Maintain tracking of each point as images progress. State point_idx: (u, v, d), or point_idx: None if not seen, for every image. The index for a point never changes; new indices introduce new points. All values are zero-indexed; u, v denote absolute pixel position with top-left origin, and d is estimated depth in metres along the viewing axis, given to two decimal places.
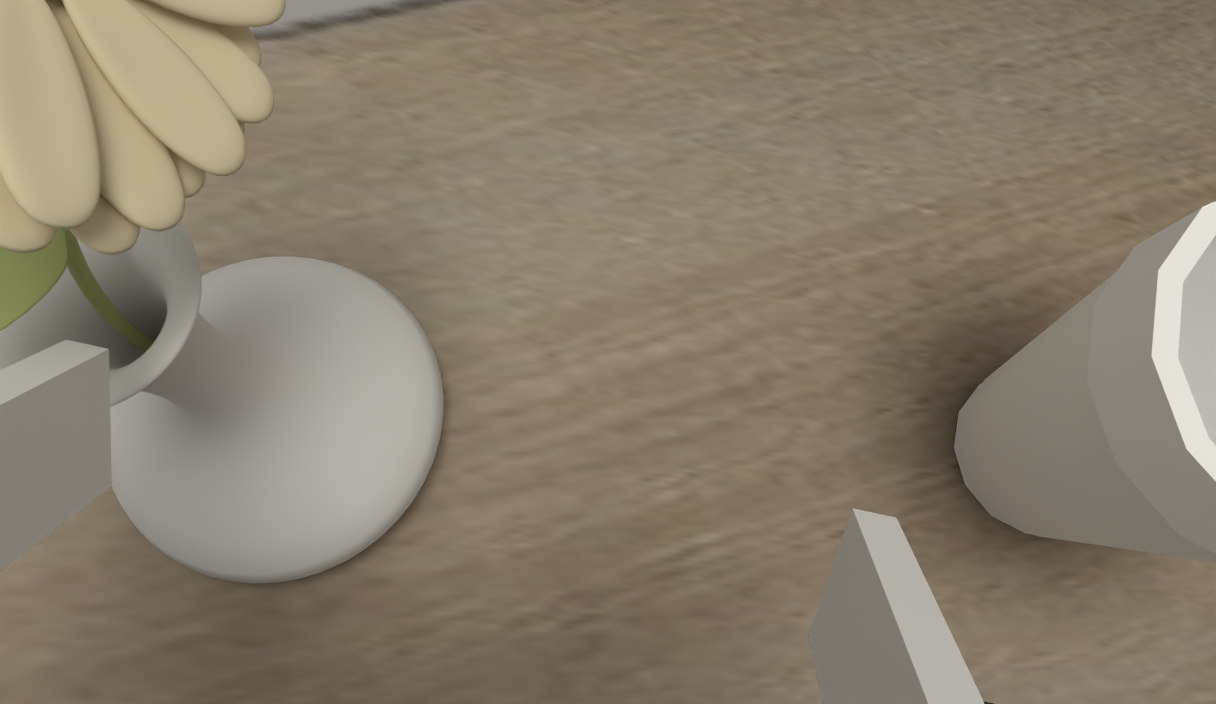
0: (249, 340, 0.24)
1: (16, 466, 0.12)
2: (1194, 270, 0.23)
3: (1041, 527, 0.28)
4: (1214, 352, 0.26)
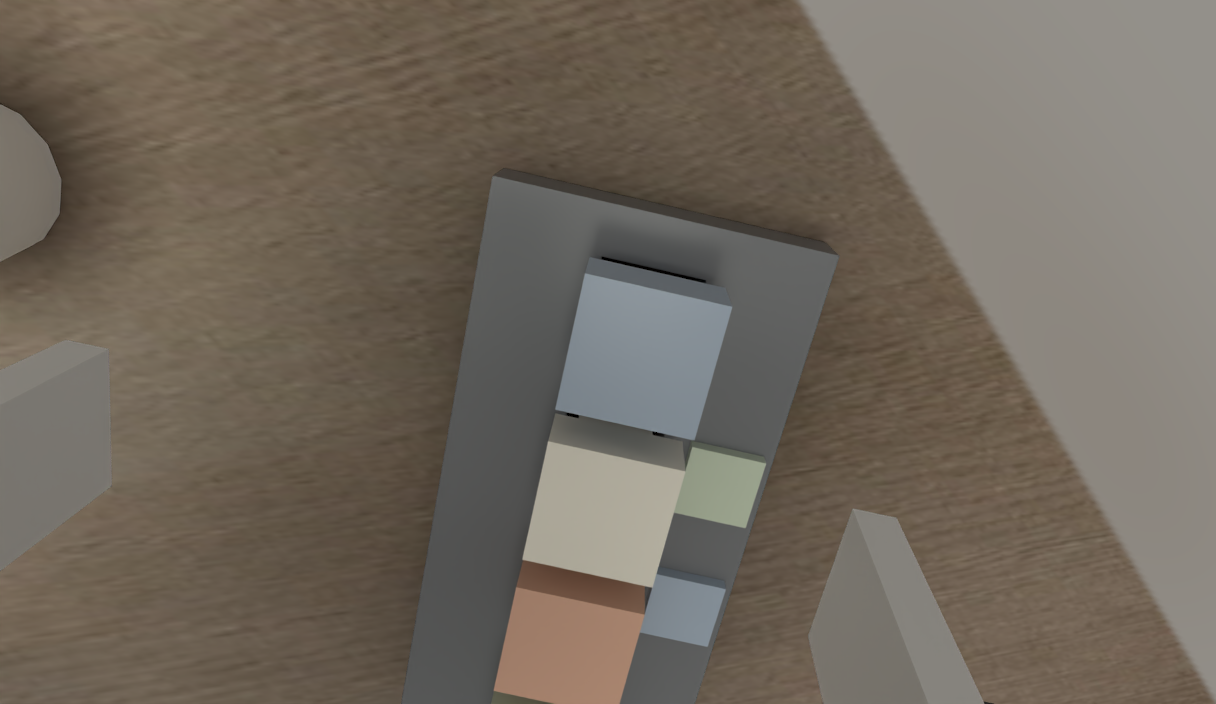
0: None
1: (16, 466, 0.12)
2: None
3: None
4: None
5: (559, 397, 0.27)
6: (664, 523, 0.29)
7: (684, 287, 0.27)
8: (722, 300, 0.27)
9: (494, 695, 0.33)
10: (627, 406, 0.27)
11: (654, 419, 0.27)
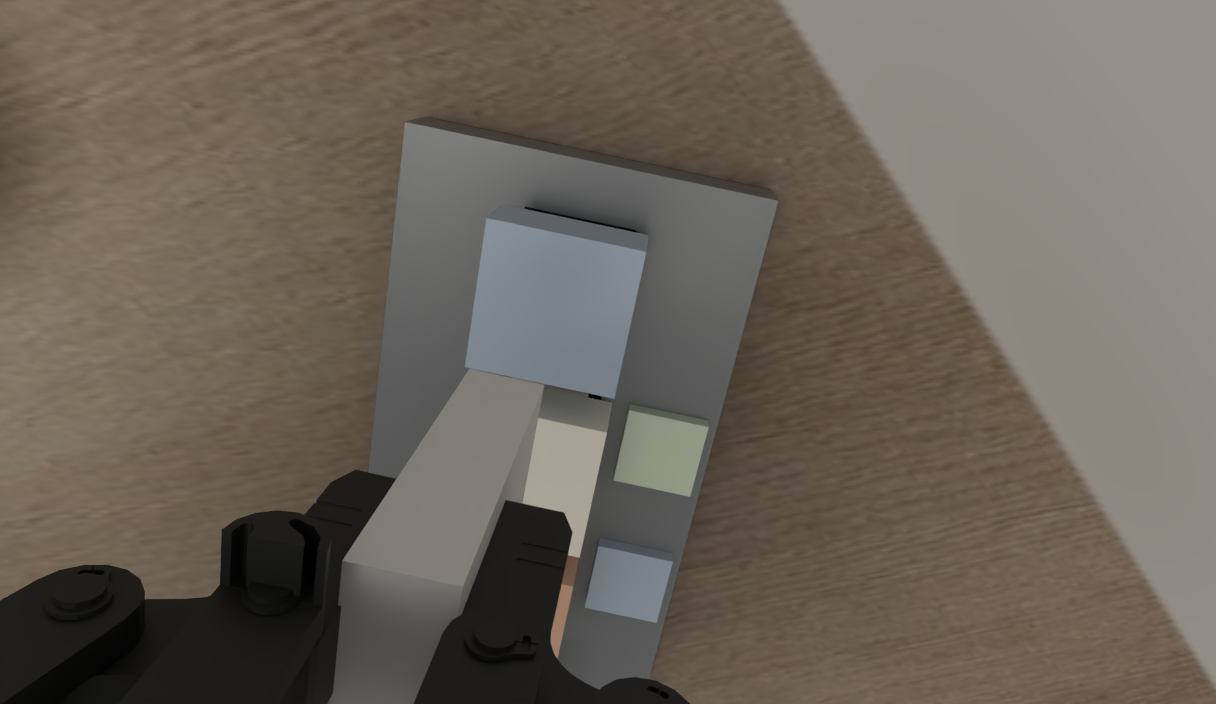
0: None
1: None
2: None
3: None
4: None
5: (468, 353, 0.26)
6: (588, 488, 0.27)
7: (599, 233, 0.25)
8: (638, 246, 0.25)
9: None
10: (540, 362, 0.25)
11: (570, 376, 0.26)
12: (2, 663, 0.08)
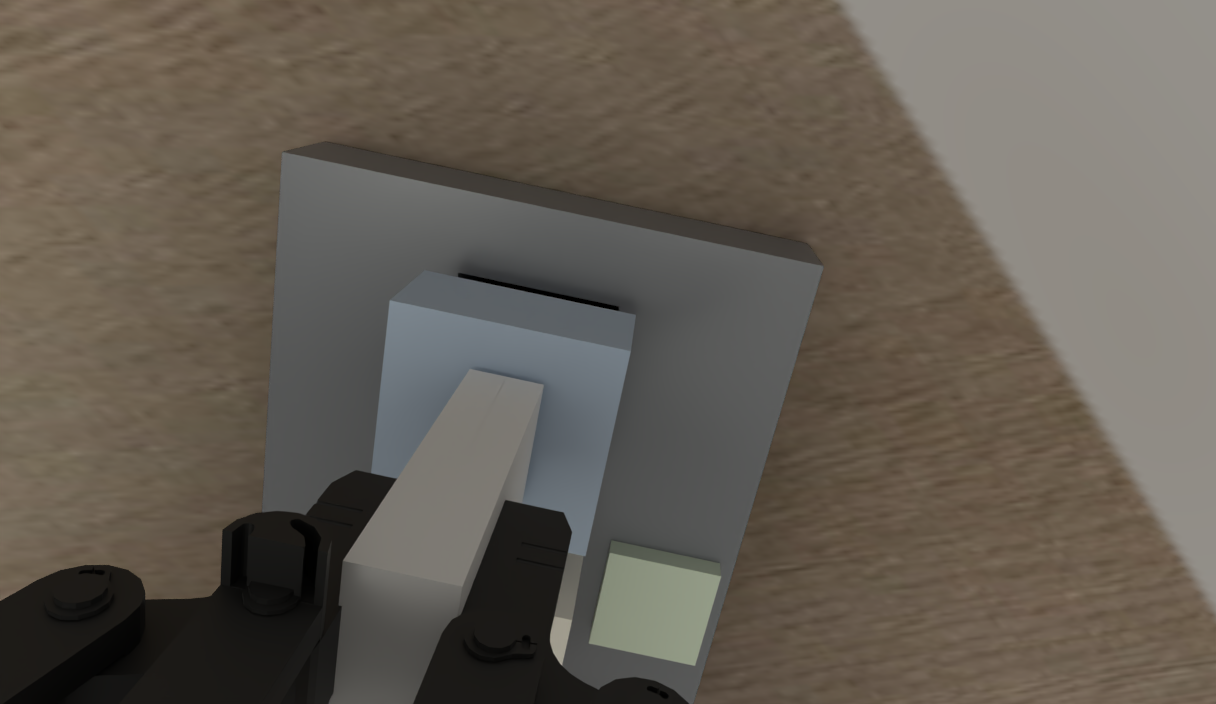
0: None
1: None
2: None
3: None
4: None
5: None
6: None
7: (561, 317, 0.17)
8: (618, 339, 0.16)
9: None
10: None
11: None
12: (3, 663, 0.08)
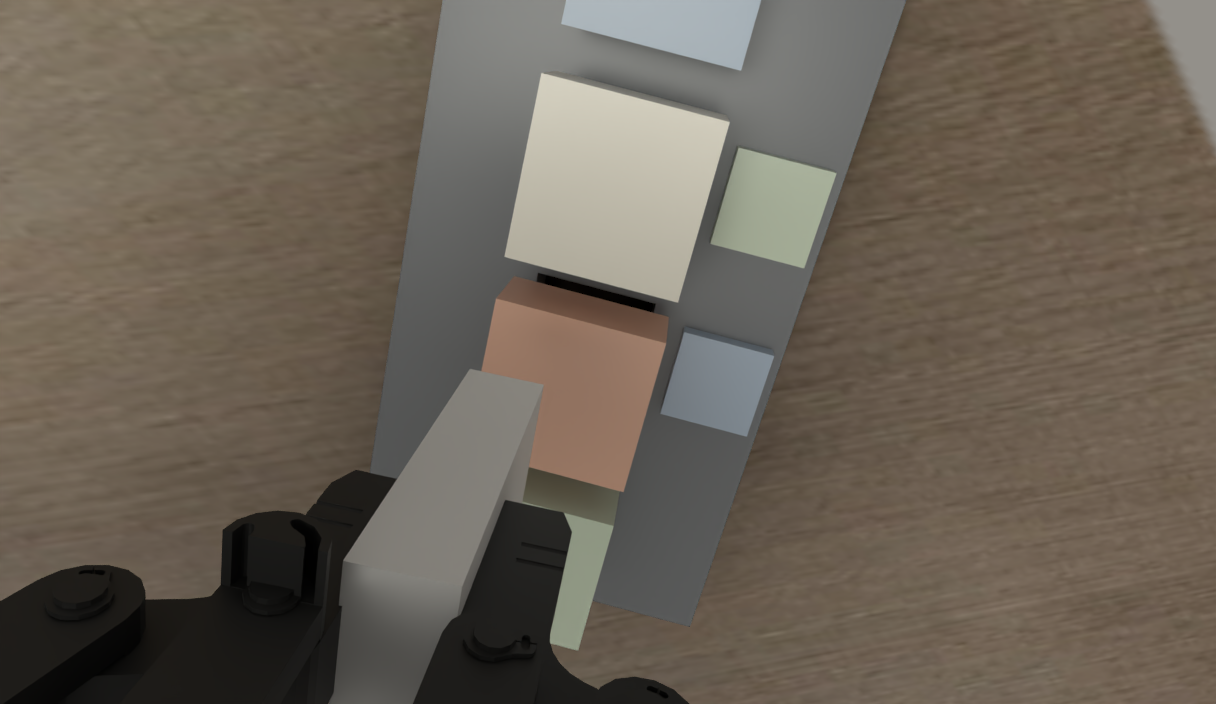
0: None
1: None
2: None
3: None
4: None
5: (567, 6, 0.21)
6: (697, 203, 0.21)
7: None
8: None
9: None
10: (655, 18, 0.21)
11: (689, 38, 0.21)
12: (2, 663, 0.08)
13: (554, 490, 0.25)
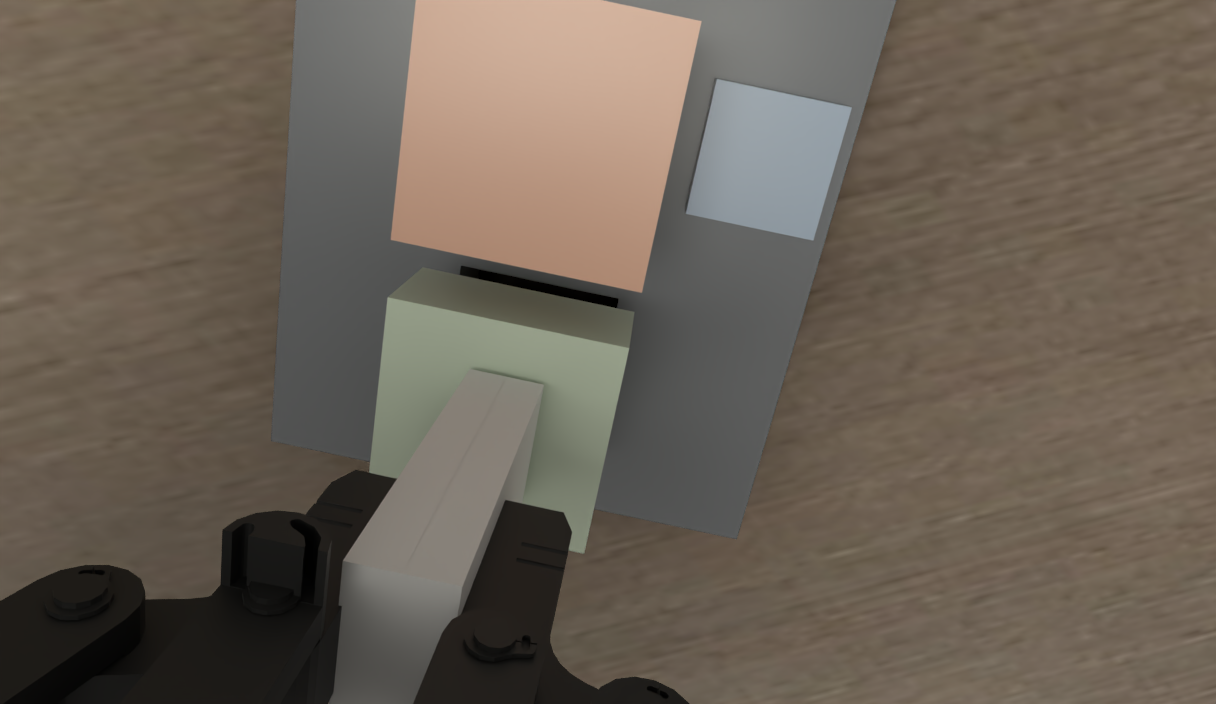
0: None
1: None
2: None
3: None
4: None
5: None
6: None
7: None
8: None
9: (407, 283, 0.17)
10: None
11: None
12: (3, 663, 0.08)
13: (536, 310, 0.17)
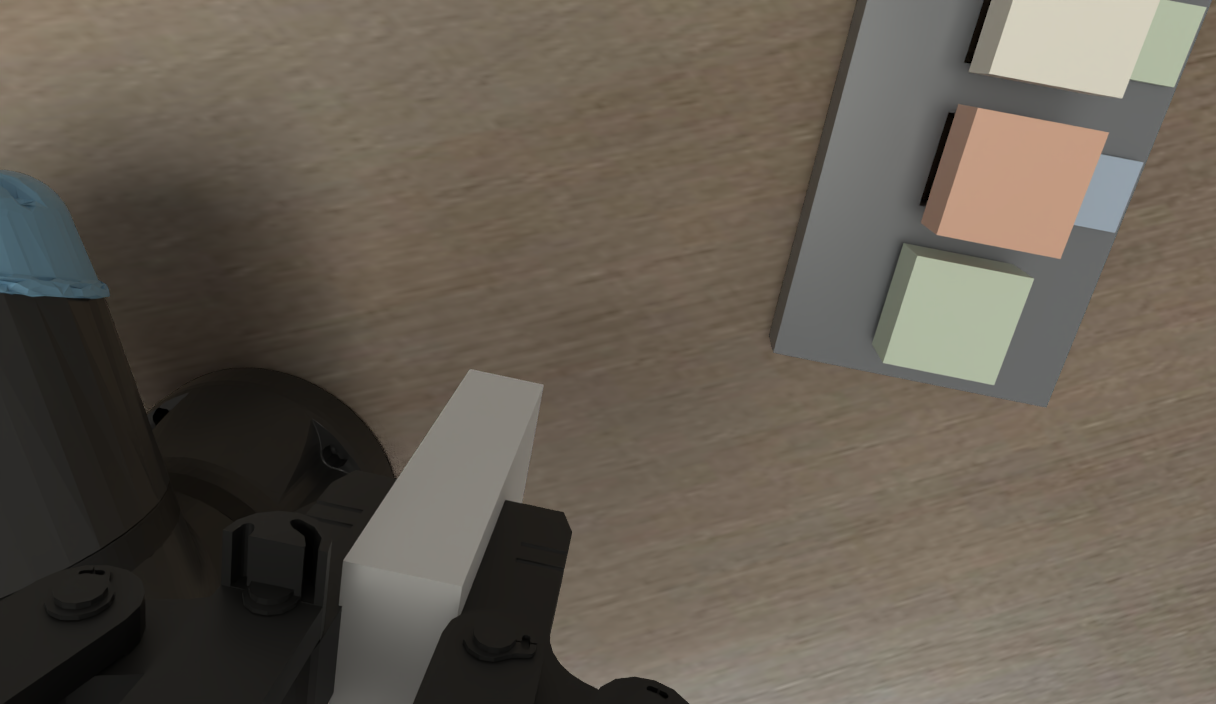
0: None
1: None
2: None
3: None
4: None
5: None
6: (1146, 18, 0.28)
7: None
8: None
9: (912, 250, 0.34)
10: None
11: None
12: (3, 663, 0.08)
13: (976, 262, 0.34)
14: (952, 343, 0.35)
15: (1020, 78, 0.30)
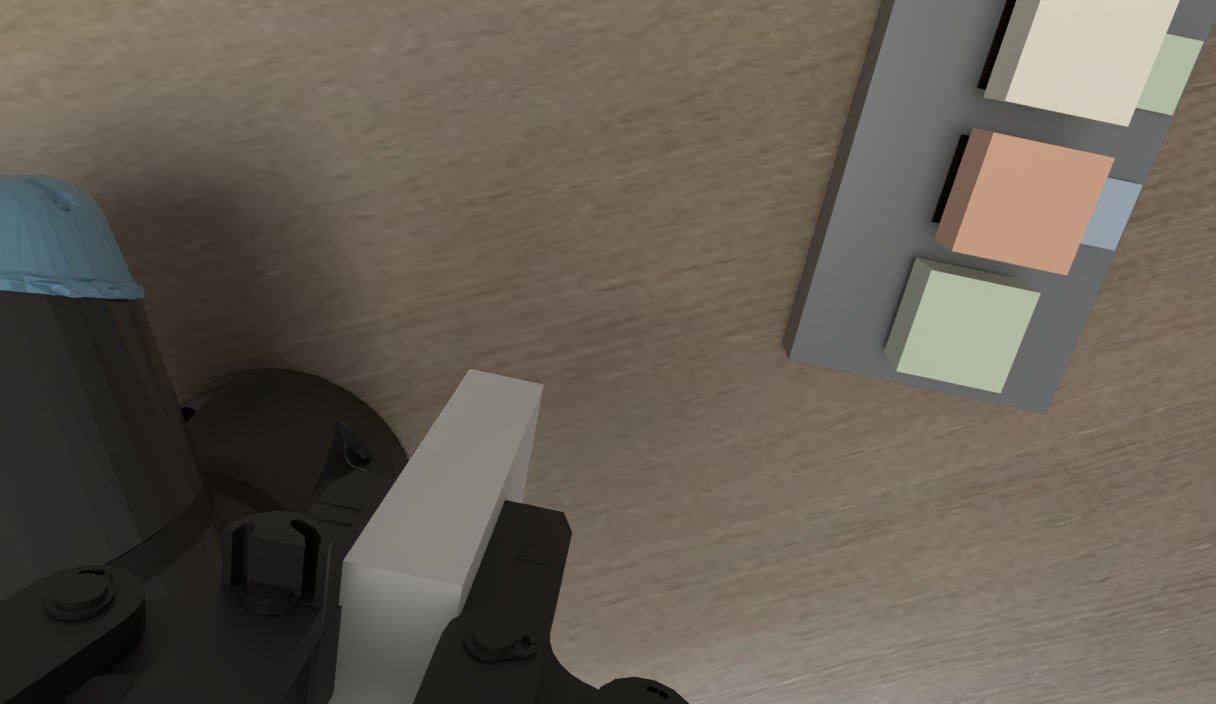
0: None
1: None
2: None
3: None
4: None
5: None
6: (1152, 52, 0.30)
7: None
8: None
9: (925, 264, 0.36)
10: None
11: None
12: (3, 663, 0.08)
13: (986, 276, 0.36)
14: (962, 353, 0.36)
15: (1034, 105, 0.31)
